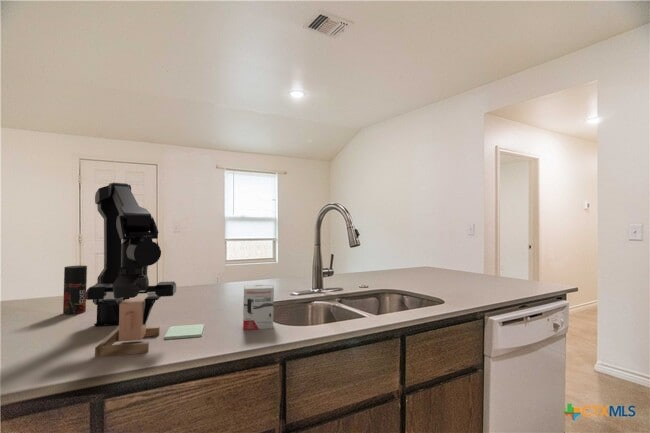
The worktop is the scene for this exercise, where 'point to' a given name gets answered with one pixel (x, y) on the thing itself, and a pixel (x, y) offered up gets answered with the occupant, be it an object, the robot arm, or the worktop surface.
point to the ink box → (258, 306)
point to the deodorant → (74, 290)
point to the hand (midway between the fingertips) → (133, 325)
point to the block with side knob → (131, 320)
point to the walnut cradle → (108, 349)
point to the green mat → (184, 331)
